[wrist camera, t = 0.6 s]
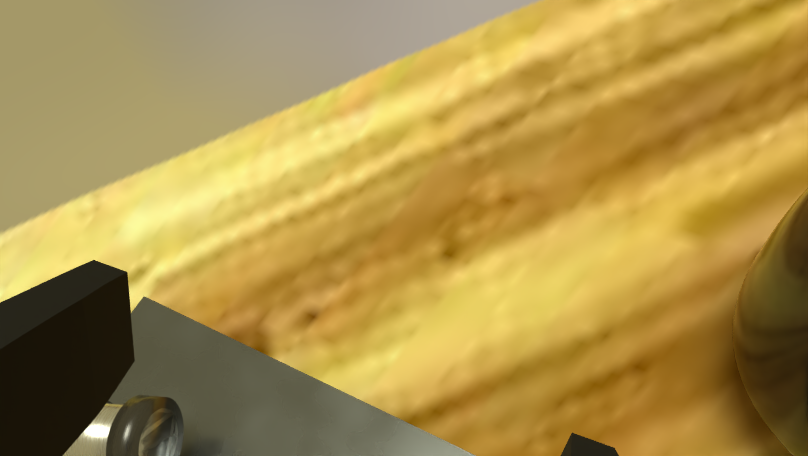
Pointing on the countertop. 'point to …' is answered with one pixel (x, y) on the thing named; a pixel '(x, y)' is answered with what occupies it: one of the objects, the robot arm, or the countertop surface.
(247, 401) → the base plate
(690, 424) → the countertop surface
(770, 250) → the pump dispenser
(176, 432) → the shaft
